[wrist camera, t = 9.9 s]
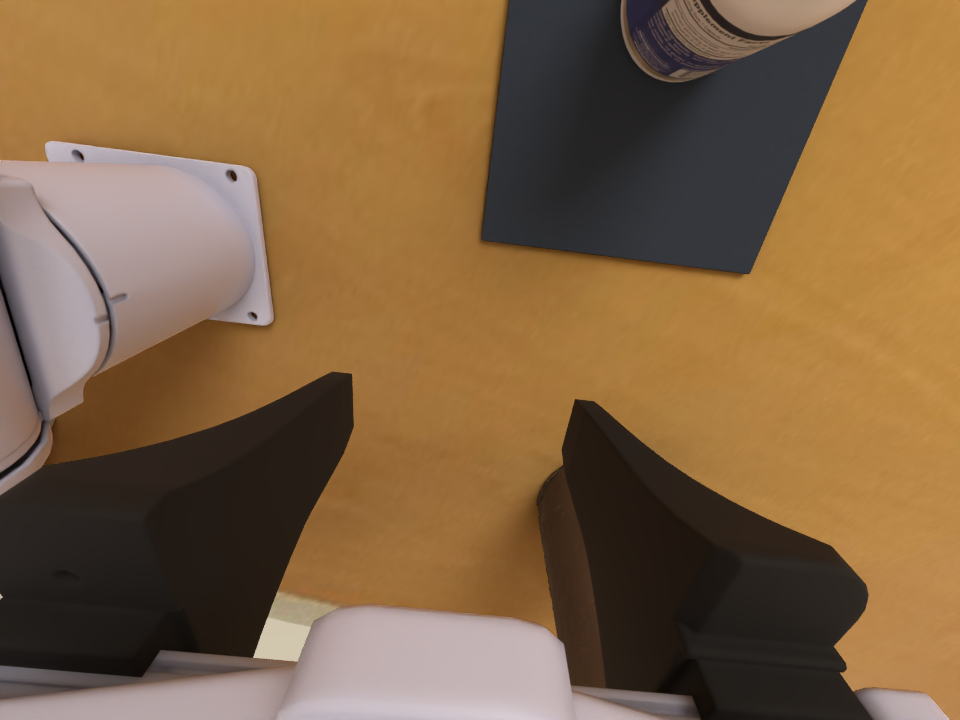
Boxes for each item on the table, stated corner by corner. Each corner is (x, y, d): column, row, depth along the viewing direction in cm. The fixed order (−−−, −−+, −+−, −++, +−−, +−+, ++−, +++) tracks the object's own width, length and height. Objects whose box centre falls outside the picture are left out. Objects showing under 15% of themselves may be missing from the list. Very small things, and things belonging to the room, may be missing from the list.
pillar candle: (509, 495, 27) (530, 812, 14) (630, 424, 24) (809, 735, 11) (584, 566, 30) (662, 881, 17) (699, 511, 27) (904, 835, 14)
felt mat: (481, 239, 20) (481, 240, 19) (566, -489, 11) (568, -506, 11) (746, 273, 20) (749, 274, 20) (1032, -397, 11) (1045, -411, 11)
